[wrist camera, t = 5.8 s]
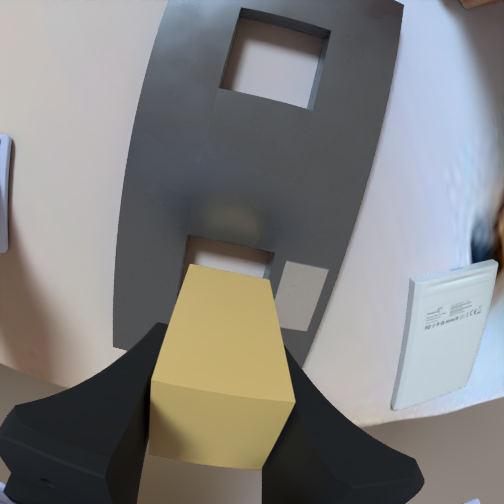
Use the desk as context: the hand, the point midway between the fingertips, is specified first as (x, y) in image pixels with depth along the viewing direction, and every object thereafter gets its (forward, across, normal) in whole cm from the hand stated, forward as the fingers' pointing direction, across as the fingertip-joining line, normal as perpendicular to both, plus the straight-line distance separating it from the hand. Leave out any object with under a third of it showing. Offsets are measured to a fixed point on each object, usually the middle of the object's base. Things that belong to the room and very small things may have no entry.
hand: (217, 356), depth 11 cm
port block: (+8, 0, -6) cm, 10 cm away
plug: (+3, 0, 0) cm, 3 cm away
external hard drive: (+8, -18, +2) cm, 20 cm away
